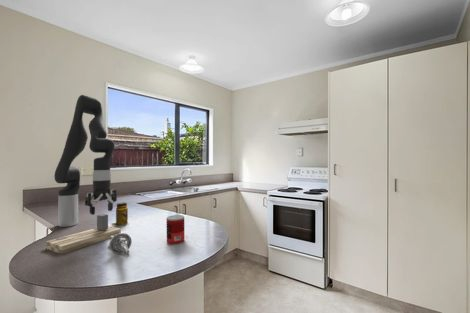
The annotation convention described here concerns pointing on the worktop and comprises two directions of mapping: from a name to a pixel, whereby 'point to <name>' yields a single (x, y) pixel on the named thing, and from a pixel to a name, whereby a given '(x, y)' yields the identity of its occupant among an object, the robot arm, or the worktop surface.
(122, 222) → the condiment
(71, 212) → the robot arm
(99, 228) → the fader knob
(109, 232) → the wooden board
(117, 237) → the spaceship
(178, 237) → the canned food
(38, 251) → the worktop surface
